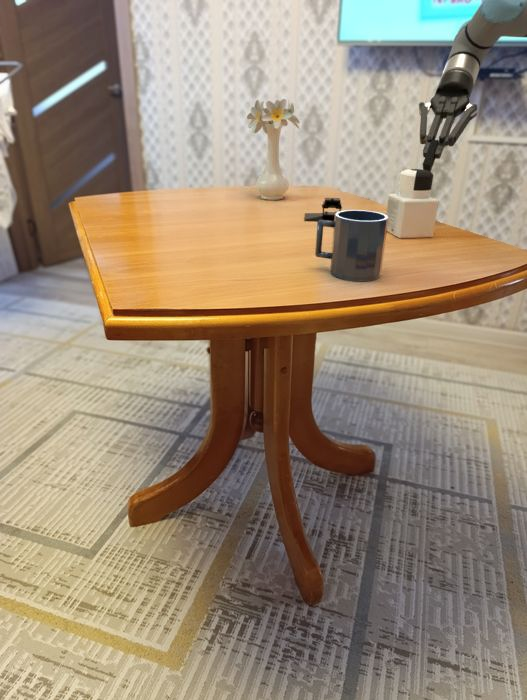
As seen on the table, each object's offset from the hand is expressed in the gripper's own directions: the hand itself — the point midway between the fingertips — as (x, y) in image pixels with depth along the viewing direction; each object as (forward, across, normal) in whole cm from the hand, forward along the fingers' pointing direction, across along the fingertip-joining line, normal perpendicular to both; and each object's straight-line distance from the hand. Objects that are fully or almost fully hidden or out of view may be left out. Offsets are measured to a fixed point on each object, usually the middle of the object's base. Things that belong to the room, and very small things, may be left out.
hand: (426, 168), depth 110 cm
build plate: (+12, +19, -6) cm, 24 cm away
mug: (+37, +1, +20) cm, 42 cm away
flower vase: (+2, +44, -16) cm, 47 cm away
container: (+15, 0, -3) cm, 15 cm away
